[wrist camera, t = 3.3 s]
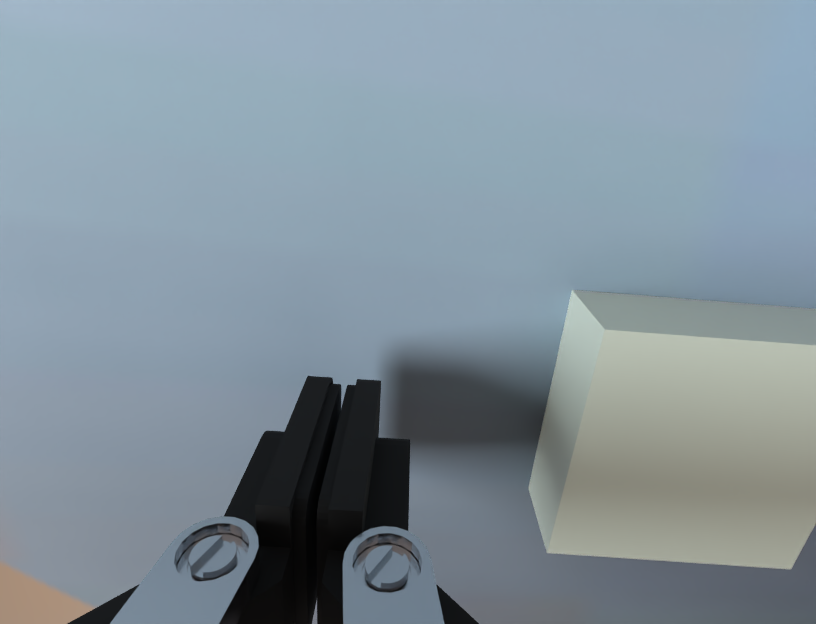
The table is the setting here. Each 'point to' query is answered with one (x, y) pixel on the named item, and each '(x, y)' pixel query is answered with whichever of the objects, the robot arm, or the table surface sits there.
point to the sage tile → (679, 432)
